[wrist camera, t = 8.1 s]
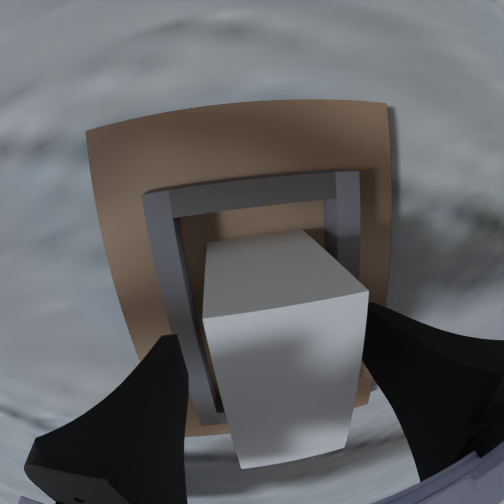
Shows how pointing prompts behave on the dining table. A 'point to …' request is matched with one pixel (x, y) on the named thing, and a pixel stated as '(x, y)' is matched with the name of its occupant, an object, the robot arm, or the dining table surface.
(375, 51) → the dining table surface
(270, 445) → the key block
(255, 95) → the dining table surface
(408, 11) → the dining table surface
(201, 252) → the cradle
